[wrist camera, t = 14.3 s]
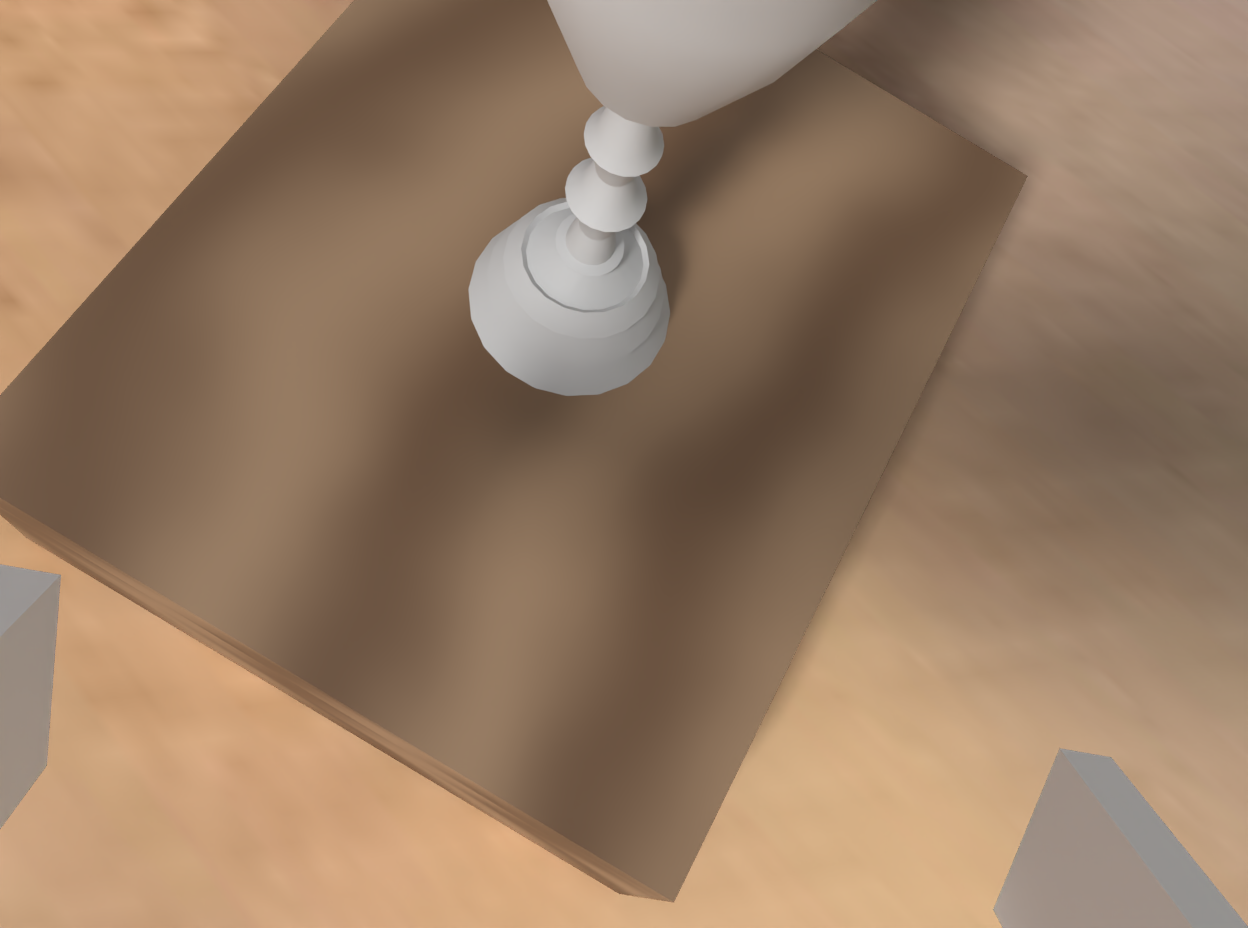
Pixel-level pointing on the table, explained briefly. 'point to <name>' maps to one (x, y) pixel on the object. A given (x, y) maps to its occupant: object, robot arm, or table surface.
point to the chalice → (626, 180)
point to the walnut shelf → (506, 417)
